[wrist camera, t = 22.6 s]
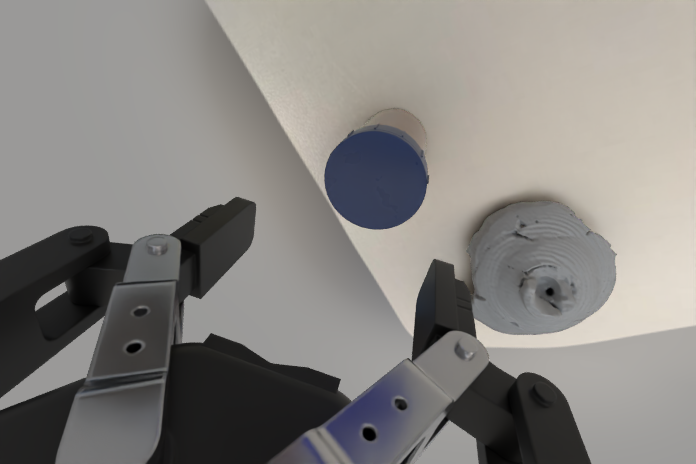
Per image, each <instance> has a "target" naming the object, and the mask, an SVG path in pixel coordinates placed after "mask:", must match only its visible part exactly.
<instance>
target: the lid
mask: <svg viewBox="0 0 696 464" xmlns="http://www.w3.org/2000/svg"><path fill="white" fill-rule="evenodd" d="M405 132H406V131H402V130H400V129H398V128H395V127H392V126H387V125H379V123H378V124H377V125H370V126H365V127H362V128H359V129H358V130H356V131H354V130H353V131H352V132H351V133H350V134H348V136H347V137H346V138H345V139H344V140H343V141H342V142H341V143H340V144H339V145H338V146H337V147H336V148H335V149H334V150H333V152H332V153H331V154H330V157H329V159H328V162H327V164H326V168H325V188H326V191H327V195H328V197H329V199H330V201H331V203H332V205H333V206H334V208H335V209H336V210H337V211H338V212H339V213H340V214H341V215H342V216H343V217H344V218H345V219H347V220H348V221H350V222H351V223H353V224H355V225H358V226H360V227H364V228H368V229H388V228H392V227H395V226H398V225H400V224H402V223H404V222H405V221H407V220H408V219H410V218H411V217H412V216H413V215H414V214H415V213H416V212H417V210H418V209H419V207H420V206H421V204H422V202H423V200H424V197H425V194H426V188H427V184H428V182H429V175H428V168H427V162H426V159H425V156H424V150H421V148H420V146H419V145H418V144H417V142H416V141H415V140H414V139H413V138H412V137H411V136H410V135H408V134H407V133H405Z"/></svg>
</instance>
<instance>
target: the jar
mask: <svg viewBox="0 0 696 464" xmlns="http://www.w3.org/2000/svg"><path fill="white" fill-rule="evenodd" d="M378 123H379V125H387V126H392V127H395V128H398V129H400V130H402V131H406V132H405V133H407V134H408V135H410V136H411V137H412V138H413V139H414V140H415V141H416V142H417V144H418V145H419V146H420V148H421V150H424V156H425V155H426V147H427V137H426V132H425V129H424V127H423V125H422V124H421V122H420V121H419V120H418V119H417V118H416V117H415V116H414V115H413V114H411V113H409V112H407V111H405V110H401V109H387V110H383V111H380V112H379V113H377V114H375V115H374V116H373V117H372V118H370V119H369V120H368V121H367V123H366V124H365V125H364V126H363V127H365V126H370V125H377V124H378Z"/></svg>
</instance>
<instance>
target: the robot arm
mask: <svg viewBox="0 0 696 464" xmlns="http://www.w3.org/2000/svg"><path fill="white" fill-rule="evenodd" d="M255 214H256V204H255V203H254V202H252V201H249V200H246V199H242V198H239V197H235V198H234V199H232V200H231V201H229V202H228V203H227V204H225V205H221V204H220V205H217V206H214V207H210V208H208V209H207V210H205V211H204V212H202V213H201V214H200V215H198V216H196V217H195V218H194V219H193V220H190V221H189V222H188V223H186V224H185V225H183V226H182V227H180V228H179V229H177V230H176V231H175V232H173V233H172V234H170V235H165V234H154V235H149V236H145V237H143V238H140V239H139V240H137V241H136V242H135V243H134V244H122V243H112V242H110V241H109V236H108V232H107V231H106V230H105V229H103V228H100V227H97V226H77V227H72V228H68V229H65V230H63V231H61V232H58V233H56V234H54V235H52V236H50V237H48V238H46V239H44V240H42V241H40V242H37V243H35V244H33V245H31V246H29V247H27V248H25V249H23V250H21V251H18V252H16V253H14V254H12V255H10V256H8V257H6V258H4V259H2V260H0V398H1V397H2V396H3V395H5V394H6V393H7V392H9V391H10V390H11V389H12V388H14V387H15V386H16V385H18V384H19V383H20V382H21V381H23V380H24V379H25V378H26V377H28V376H29V375H30V374H31V373H33V372H34V371H35V370H36V369H38V368H39V367H40V366H42V365H43V364H44V363H45V362H47V361H48V360H49V359H50V358H52V357H53V356H54V355H56V354H57V353H58V352H59V351H60V350H62V349H63V348H64V347H66V346H67V345H68V344H69V343H71V342H72V341H73V340H74V339H76V338H77V337H78V336H80V335H81V334H82V333H83V332H85V331H86V330H87V329H88V328H90V327H91V326H92V325H93V324H95V323H96V322H97V321H99V320H100V319H101V318H102V317H104V316H105V317H104V321H103V324H102V327H101V331H100V334H99V337H98V341H97V344H96V348H95V351H94V354H93V358H92V361H91V364H90V368H89V371H88V374H87V377H86V378H83V379H81V380H78V381H76V382H73V383H70V384H68V385H65V386H62V387H60V388H58V389H55V390H52V391H49V392H47V393H45V394H42V395H39V396H36V397H34V398H32V399H29V400H26V401H24V402H21V403H18V404H16V405H13V406H10V407H8V408H5V409H3V410H0V464H414V463H415V462H416V461H417V459H418V458H419V457H420V456H421V454H422V453H423V452H424V451H425V450H426V449H427V447H428V446H429V445H430V444H431V443H432V441H433V440H434V439H435V438H436V437H437V435H438V434H439V433H440V432H441V431H442V430H443V428H444V427H445V426H446V425H447V424H448V423H449V421H451V422H453V423H454V424H456V425H457V426H459V427H460V428H462V429H463V430H465V431H466V432H467V433H469V434H470V435H472V436H473V437H474V438H476V441H477V451H478V460H479V464H591V462H590V459H589V457H588V454H587V451H586V449H585V446H584V444H583V441H582V438H581V436H580V433H579V430H578V428H577V425H576V422H575V420H574V417H573V414H572V412H571V410H570V407H569V404H568V402H567V400H566V398H565V396H564V395H563V394H562V392H561V391H560V390H559V389H558V388H557V387H556V386H555V385H554V384H553V383H551V382H550V381H549V380H547V379H546V378H544V377H542V376H540V375H537V374H534V373H529V372H527V373H522V374H520V375H519V376H518V378H517V379H516V378H514V377H512V376H511V375H509V374H507V373H506V372H504V371H502V370H501V369H499V368H497V367H496V366H495V365H493V364H492V363H491V362H490V361H489V355H488V352H487V350H486V348H485V347H484V346H483V344H482V343H481V342H480V341H479V340H477V337H476V330H475V323H474V316H473V312H472V310H473V309H472V303H471V302H472V301H471V294H470V291H469V289H468V288H467V286H466V285H465V283H464V281H460V280H457V279H455V274H454V265H453V264H449V263H446V262H443V261H440V260H436V259H434V260H433V261H432V263H431V265H430V268H429V270H428V272H427V275H426V277H425V279H424V282H423V284H422V286H421V289H420V291H419V294H418V298H417V303H416V313H415V326H414V338H413V351H412V361H411V360H410V359H409V358H407V359H405V360H403V361H402V362H401V363H399V364H398V365H397V366H396V367H394V368H393V369H392V370H391V371H389V372H388V373H387V374H386V375H384V376H383V377H382V378H381V379H379V380H378V381H377V382H376V383H374V384H373V385H372V386H371V387H369V388H368V389H367V390H366V391H364V392H363V393H362V394H361V395H359V396H358V397H357V398H355V399H354V400H353V401H351V400H350V399H349V398H348V397H346V396H345V395H344V394H343V393H341V392H340V391H338V387H339V383H340V380H341V379H339V378H336V377H333V376H330V375H327V374H325V373H322V372H319V371H316V370H313V369H310V368H307V367H298V366H289V365H279V364H273V363H270V362H268V361H266V360H265V359H263V358H262V357H260V356H259V355H257V354H256V353H254V352H253V351H251V350H250V349H248V348H247V347H245V346H243V345H242V344H240V343H237V342H234V341H231V340H228V339H225V338H223V337H220V336H217V335H214V334H212V333H211V334H210V335H209V337H208V338H207V339H206V340H205V341H204V343H182V334H183V316H184V299H185V298H186V297H187V296H188V295H191V296H193V297H196V298H199V299H201V298H202V297H203V296H204V295H205V294H206V293H207V292H208V291H209V290H210V289H211V288H212V287H213V286H214V284H215V283H216V282H217V281H218V280H219V279H220V278H221V277H222V276H223V275H224V274H225V273H226V272H227V271H228V270H229V269H230V268H231V267H232V266H233V264H234V263H235V262H236V261H237V260H238V259H239V258H240V257H241V256H242V255H243V254H244V253H245V252H246V251H247V250H248V248H249V247H250V245H251V243H252V240H253V236H254V225H255ZM63 282H65V284H66V287H67V291H66V292H65V293H63V294H62V295H60V296H58V297H57V298H55V299H54V300H52V301H51V302H49V303H48V304H46V305H44V306H43V307H41V308H40V309H38V310H37V311H35V305H36V303H37V301H38V300H39V298H40V297H41V296H42V295H44V294H45V293H47V292H48V291H50V290H52V289H53V288H55V287H56V286H58V285H60V284H61V283H63Z"/></svg>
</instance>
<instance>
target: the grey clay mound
mask: <svg viewBox="0 0 696 464" xmlns="http://www.w3.org/2000/svg"><path fill="white" fill-rule="evenodd" d="M521 225H524V227H521ZM589 230H590V229H589V228H588V227H586V226H585V225H584V224H583V222H582V220H581V219H579V218H577V217H576V216H575V213H574V212H573V211H572V210H570V209H569V208H568V207H567V206H565V205H563V204H561V203H559V202H552V201H537V202H519V203H515V204H510V205H508V206H507V207H506V208H503V209H500V210H498V211H497V212H494V213H493V214H491V215H490V216H489V217H487V218H486V219H485V220H484V222H483V225H482V226H481V228H480V229H479V231H478V232H476V233H475V234H474V235H473V237H472V240H471V242H470V244H469V247H468V248H467V250H466V252H467V253H468V254H469V255H470V257H471V263H470V264H471V269H472V281H473V286H474V288H475V292H474V294H472V295H471V301H472V302H471V303H472V309H473V310H472V312H473V316H474V318H475V319H477V320H478V321H480V322H482V323H483V324H485V325H486V326H488V327H489V328H491V329H493V330H495V331H498V332H501V333H506V334H513V335H530V334H531V335H537V334H546V333H554V332H559V331H562V330H565V329H568V328H570V327H572V326H574V325H576V324H578V323H580V322H582V321H583V320H584V319H585V318H587V317H589V316H590V315H592V314H594V312H596V311H597V310H599V309H600V308H601V307H602V306H603V305H604V303H605V302H606V301H607V300H608V298H609V296H610V294H611V293H612V290H613V288H614V284H615V281H616V266H615V256H616V255H617V254H616V253H615V252H614V251H613V250H611V249H610V247H611V244H610V243H609V242H608V241H607V240H605V239H604V238H602V236H600V235H598V234H596V233H593V232H590V231H589ZM587 231H588V232H587ZM517 233H519V234H517ZM520 234H521V235H520Z"/></svg>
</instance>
